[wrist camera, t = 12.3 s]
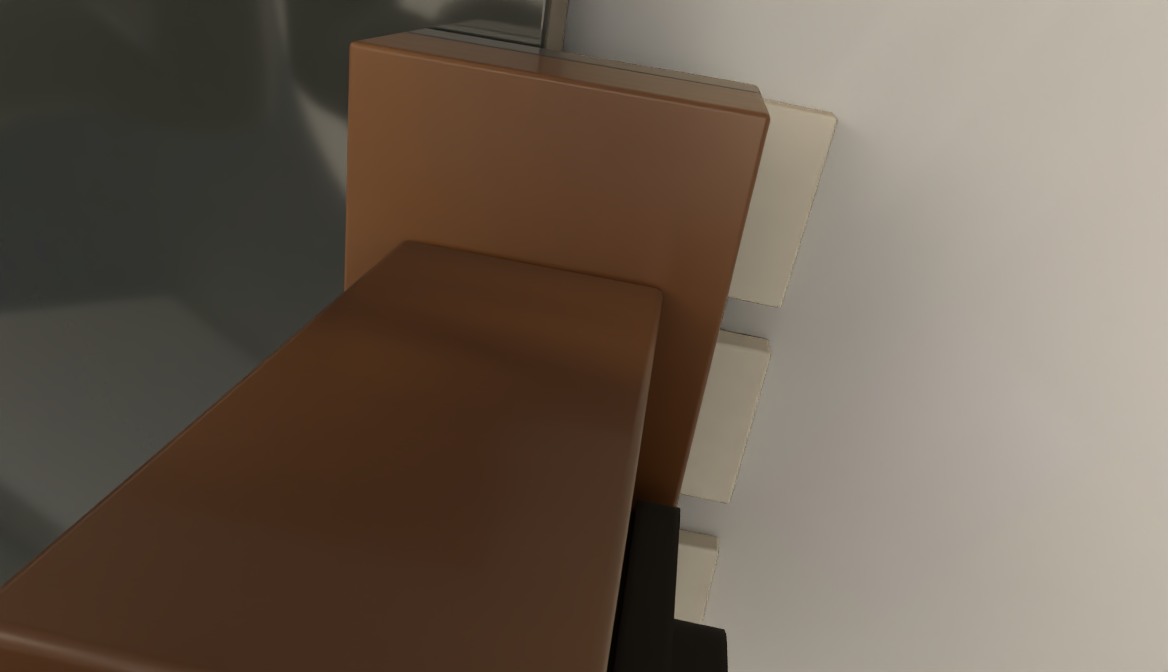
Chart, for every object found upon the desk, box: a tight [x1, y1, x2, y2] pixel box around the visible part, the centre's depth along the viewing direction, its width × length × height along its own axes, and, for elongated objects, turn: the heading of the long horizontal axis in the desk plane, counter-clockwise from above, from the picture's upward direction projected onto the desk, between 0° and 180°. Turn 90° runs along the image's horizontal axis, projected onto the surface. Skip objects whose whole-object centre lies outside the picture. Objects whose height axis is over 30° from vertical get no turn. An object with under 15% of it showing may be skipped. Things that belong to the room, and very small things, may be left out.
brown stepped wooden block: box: [0, 28, 770, 672], centre depth 9 cm, size 4×12×8 cm, turn 172°
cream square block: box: [728, 99, 837, 308], centre depth 12 cm, size 4×3×1 cm
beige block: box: [680, 330, 771, 503], centre depth 14 cm, size 4×3×1 cm
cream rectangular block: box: [674, 530, 719, 625], centre depth 16 cm, size 4×3×1 cm
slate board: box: [0, 0, 569, 587], centre depth 14 cm, size 16×22×2 cm
